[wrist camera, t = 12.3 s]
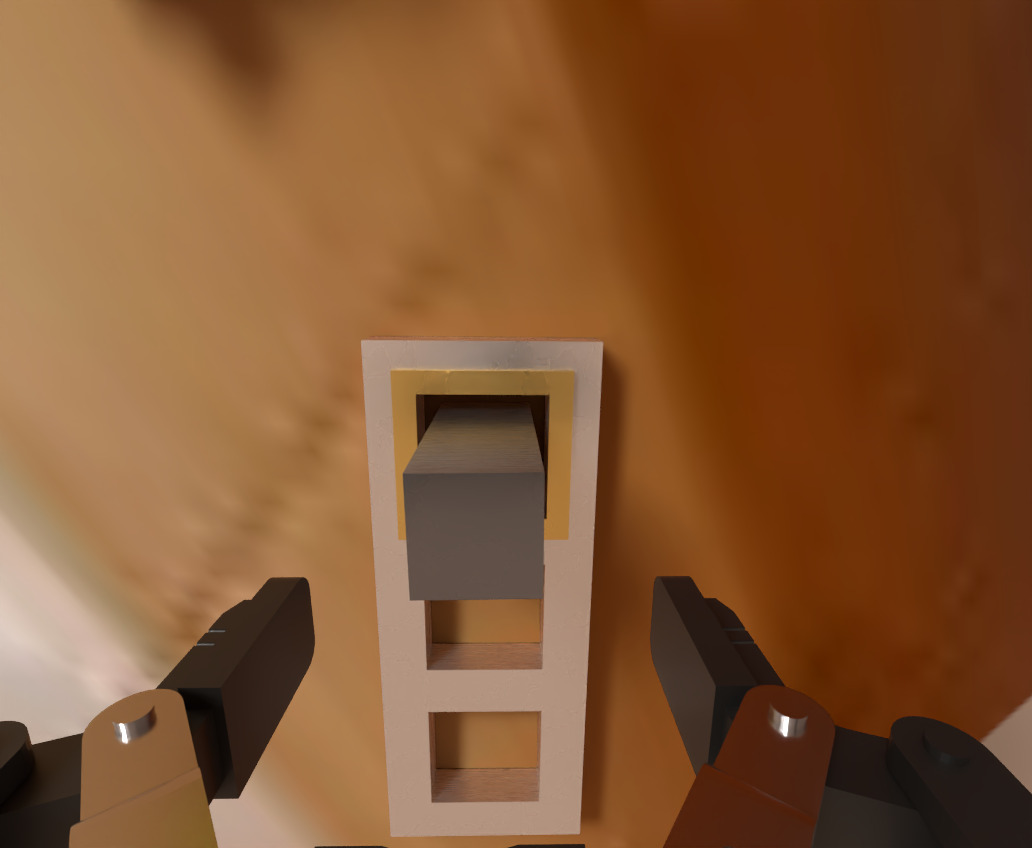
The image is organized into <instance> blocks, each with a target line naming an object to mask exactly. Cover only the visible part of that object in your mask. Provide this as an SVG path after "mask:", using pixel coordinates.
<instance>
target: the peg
mask: <svg viewBox="0 0 1032 848" xmlns="http://www.w3.org/2000/svg"><path fill="white" fill-rule="evenodd" d="M544 488H545V472H544V467H543V463H542V458H541V454H540V449H539V445H538V440H537V436H536V431H535V427H534V423H533V418H532V414H531V409H530V405H529V402H443V403H442V404H441V406H440V408H439V410H438V412H437V413H436V415H435V417H434V419H433V420H432V422H431V424H430V426H429V428H428V429H427V431H426V433H425V435H424V436H423V438H422V440H421V442H420V444H419V445H418V447H417V449H416V451H415V452H414V454H413V456H412V458H411V460H410V461H409V463H408V465H407V467H406V468H405V470H404V472H403V491H404V509H405V526H406V544H407V562H408V580H409V597H410V601H417V600H488V599H543V581H544Z"/></svg>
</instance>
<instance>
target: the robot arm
mask: <svg viewBox="0 0 1032 848" xmlns="http://www.w3.org/2000/svg"><path fill="white" fill-rule="evenodd" d="M650 643H651V653H652V659H653V663H654V666H655V669H656V671H657V674H658V677H659V679H660V682H661V684H662V687H663V690H664V692H665V695H666V698H667V700H668V703H669V706H670V708H671V711H672V713H673V716H674V719H675V721H676V724H677V727H678V729H679V732H680V735H681V737H682V740H683V742H684V745H685V748H686V750H687V753H688V756H689V758H690V761H691V764H692V766H693V769H694V771H695V774H696V779H695V781H694V783H693V785H692V787H691V789H690V791H689V794H688V796H687V798H686V800H685V802H684V804H683V806H682V808H681V810H680V813H679V815H678V817H677V819H676V821H675V823H674V825H673V827H672V829H671V832H670V834H669V836H668V838H667V840H666V842H665V844H664V846H663V848H1032V794H1031V793H1030V792H1029V791H1028V790H1027V789H1026V788H1025V787H1024V786H1023V785H1022V784H1021V782H1019V780H1018V779H1017V778H1015V776H1014V775H1013V774H1012V773H1011V772H1010V771H1009V770H1008V769H1007V768H1006V767H1005V766H1004V765H1003V764H1002V763H1001V762H1000V761H999V760H998V759H997V758H996V757H995V756H994V755H993V753H991V752H990V751H989V750H988V749H987V748H986V747H985V746H984V745H983V744H981V743H980V742H979V741H977V740H976V739H974V738H973V737H971V736H970V735H968V734H967V733H965V732H963V731H961V730H959V729H957V728H955V727H953V726H951V725H949V724H946V723H943V722H941V721H937V720H934V719H930V718H925V717H917V716H908V717H903V718H900V719H898V720H896V721H895V722H894V723H893V725H892V727H891V732H890V737H889V739H887V738H883V737H879V736H875V735H870V734H866V733H862V732H857V731H853V730H849V729H845V728H842V727H839V726H836V725H834V723H833V720H832V718H831V717H830V715H829V714H828V713H827V711H826V710H825V709H824V708H823V707H822V706H821V705H819V704H818V703H817V702H816V701H814V700H813V699H811V698H810V697H808V696H806V695H805V694H803V693H801V692H798V691H796V690H793V689H790V688H787V687H785V685H784V684H783V682H782V681H781V679H780V678H779V676H778V675H777V674H776V672H775V671H774V669H773V668H772V666H771V665H770V663H769V662H768V661H767V659H766V658H765V656H764V655H763V653H762V652H761V650H760V649H759V648H758V646H757V645H756V644H754V640H753V639H752V637H751V636H750V634H749V633H748V632H747V631H745V627H744V626H743V624H742V623H741V621H740V620H739V619H738V617H737V616H736V614H735V613H734V612H733V611H732V610H731V609H729V608H728V607H727V606H725V605H724V604H722V603H721V602H720V601H718V600H717V599H716V598H704V597H703V596H702V594H701V593H700V591H699V589H698V588H697V586H696V585H695V583H694V581H693V580H692V578H691V577H689V576H657V577H656V579H655V582H654V590H653V605H652V619H651V634H650ZM314 646H315V634H314V625H313V616H312V606H311V597H310V588H309V583H308V581H307V579H306V578H304V577H281V578H270V579H269V580H268V581H267V582H266V583H265V584H264V585H263V587H262V588H261V589H260V590H259V591H258V593H257V594H256V595H255V596H254V597H253V599H252V600H243V601H242V602H240V603H239V604H237V605H236V606H234V607H232V608H231V609H229V610H228V611H226V612H225V613H223V614H222V615H221V616H220V617H219V619H218V620H217V621H216V622H215V623H214V624H213V625H212V626H211V627H210V629H209V632H208V633H205V634H204V635H203V636H202V638H201V639H200V640H199V641H198V642H197V646H194V647H193V648H192V649H191V650H190V651H189V652H188V653H187V654H186V655H185V657H184V658H183V659H182V660H181V661H180V662H179V663H178V664H177V666H176V667H175V668H174V669H173V670H172V671H171V672H170V673H169V675H168V676H167V677H166V678H165V679H164V680H163V681H162V682H161V684H160V685H159V686H158V687H157V688H156V689H154V690H148V691H143V692H140V693H137V694H133V695H131V696H128V697H126V698H124V699H122V700H120V701H118V702H116V703H114V704H113V705H111V706H109V707H108V708H106V709H105V710H104V711H102V712H101V713H100V714H99V715H97V716H96V717H95V718H94V719H93V720H92V721H91V722H90V723H89V725H88V726H87V728H86V729H85V731H84V733H81V734H77V735H72V736H68V737H64V738H60V739H55V740H51V741H47V742H42V743H38V744H34V745H32V744H31V741H30V737H29V733H28V730H27V727H26V726H25V725H24V724H22V723H20V722H16V721H1V722H0V848H218V846H217V841H216V837H215V832H214V828H213V824H212V819H211V815H210V810H209V805H210V803H211V802H212V800H213V799H238V798H239V797H240V795H241V793H242V791H243V789H244V787H245V785H246V783H247V782H248V780H249V778H250V776H251V774H252V772H253V770H254V769H255V767H256V765H257V763H258V761H259V759H260V757H261V756H262V754H263V752H264V750H265V748H266V746H267V744H268V743H269V741H270V739H271V737H272V735H273V733H274V731H275V730H276V728H277V726H278V724H279V722H280V720H281V718H282V717H283V715H284V713H285V711H286V709H287V707H288V705H289V703H290V702H291V700H292V698H293V696H294V694H295V692H296V690H297V689H298V687H299V685H300V683H301V681H302V679H303V677H304V676H305V674H306V672H307V670H308V668H309V666H310V664H311V661H312V657H313V653H314ZM315 848H387V847H383V846H323V847H315ZM509 848H585V844H550V845H516V846H512V847H509Z"/></svg>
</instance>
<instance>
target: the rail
mask: <svg viewBox="0 0 1032 848" xmlns="http://www.w3.org/2000/svg"><path fill="white" fill-rule="evenodd" d="M361 347H362V363H363V380H364V397H365V413H366V430H367V447H368V463H369V480H370V497H371V513H372V530H373V547H374V563H375V580H376V596H377V613H378V630H379V646H380V663H381V680H382V696H383V713H384V730H385V746H386V763H387V780H388V796H389V813H390V830H391V837H403V836H476V835H548V834H580V818H581V797H582V776H583V755H584V734H585V713H586V692H587V671H588V650H589V630H590V609H591V588H592V567H593V546H594V525H595V504H596V483H597V462H598V441H599V420H600V399H601V379H602V358H603V341H601V340H599V339H597V338H543V337H408V336H372V337H369V338H366V339H363V340H361ZM424 394H442V395H545V435H544V472H545V488H544V581H543V599H541V612H540V643H474V644H432V623H431V600H417V601H410V597H409V580H408V562H407V544H406V526H405V509H404V491H403V472H404V470H405V468H406V467H407V465H408V463H409V461H410V460H411V458H412V456H413V454H414V452H415V451H416V449H417V447H418V445H419V444H420V442H421V440H422V438H423V436H424V435H425V410H424ZM489 711H538V745H537V768H512V769H436V745H435V714H434V712H489Z"/></svg>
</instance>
